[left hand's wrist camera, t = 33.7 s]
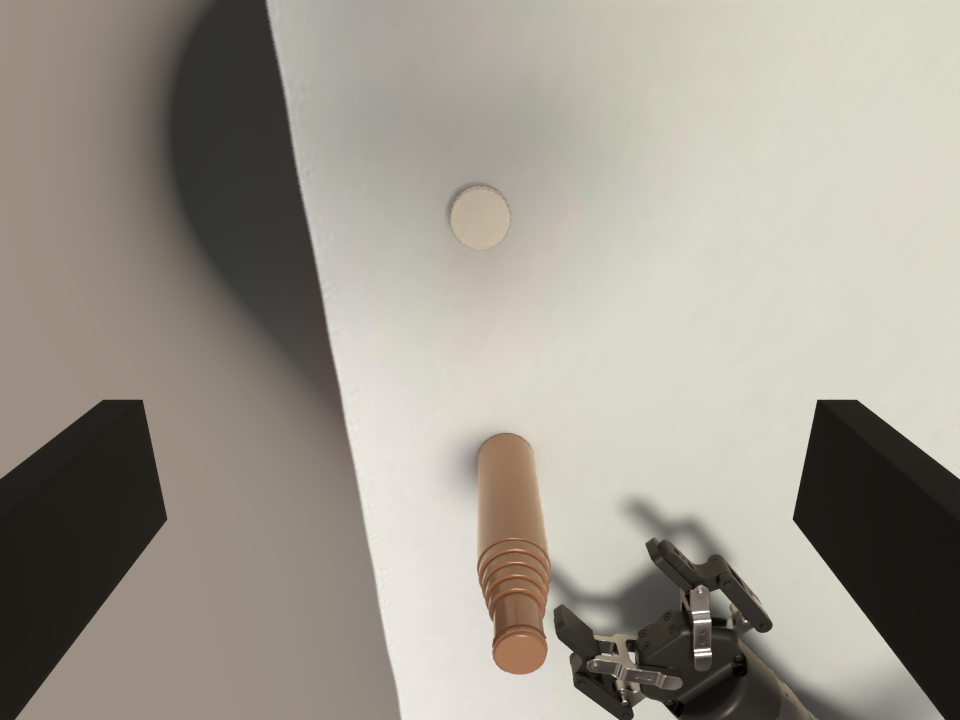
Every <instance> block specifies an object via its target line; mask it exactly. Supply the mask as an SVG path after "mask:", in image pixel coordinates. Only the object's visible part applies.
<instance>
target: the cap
mask: <svg viewBox="0 0 960 720" xmlns="http://www.w3.org/2000/svg"><path fill="white" fill-rule="evenodd" d="M510 215H511V213H510V210H509V206H508V204H507V203H506V199H504V198H503V197H502V194H500V193H499V192H497V190H494V189H492V187H486V185H484V186H479V185H478V186H474V187H473V186H472V187H471V188H468V189H467V188H466V190H465V191H463V192H461V194H460V195H459V196H457V198H456V200H455V201H454V202H453V207H452V208H451V214H450V225H451V228H452V231H453V233H454V235H455V237H456V238H457V239H458V240H459V241H460V242H461V243H462V244H463V245H465V246H467V247H468V248H471V249H475V250H485V249H489V248H492V247H494V246H496V245H497V244H499V243H500V242H501V241H502V240H503V239H504V237H505V236H506V234H507V233H508V230H509V228H510V221H511V219H510Z"/></svg>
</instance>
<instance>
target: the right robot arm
mask: <svg viewBox="0 0 960 720" xmlns="http://www.w3.org/2000/svg"><path fill="white" fill-rule="evenodd" d="M646 547H647V550H648V552H649V555H650V557H651V559H652V561H653V562H654V563H655V564H656V565H657V566H658V567H659V568H660V569H661V570H662V571H663V572H664V573H665V574H666V575H667V576H668V577H669V578H670V579H671V580H672V581H673V582H674V583H675V584H676V585H677V586H679V587H680V588H681V589H680V611H675V612H672V611H671V610H669V611H668V612H667V613H665V614H664V615H662V616H661V617H660V618H659V620H658V621H657V622H656V623H654V624H652V625H649V626H647V627H645V628H643V629H642V630H640V631H639V632H638V636H637V635H629V634H621V633H616V634H615V635H614V636H613V637H607V636H599V635H593V631H592V629H590V628H589V627H588V626H587V625H586V624H585V623H584V622H582V621H581V620H580V619H579V618H578V617H577V616H576V615H574V614H573V613H572V612H571V611H570V610H569V609H568V608H567V607H565V606H564V605H563V604H561V605H560V606H558V607H557V608H556V609H554V617H555V619H554V623H555V630H556V635H557V637H558V639H559V640H560V641H562V642H563V643H564V644H565V645H566V646H568V647H569V648H570V649H571V650H572V651H573V652H574V653H572V654H571V655H570V664H571V667H572V673H573V683H574V686H575V687H576V688H577V689H578V690H580V691H581V692H582V693H584V694H585V695H586V696H588V697H589V698H590V699H592V700H593V701H594V702H596V703H597V704H599V705H600V706H601V707H603V708H604V709H605V710H607V711H608V712H609V713H611V714H612V715H614V716H615V717H616V718H618V719H619V720H632V719H633V717H634V714H633V710H632V707H633V706H635V705H636V704H638V703H639V702H640V701H642V700H643V699H644V698H646V697H647V698H650V699H653V700H657V701H660V702H662V703H663V704H664V705H665V706H666V707H667V708H668V710H669V711H670V712H671V713H672V714H673V715H674V716H675V717H676V718H677V719H678V720H818V719H817V718H816V717H815V716H814V715H813V714H812V713H810V712H809V711H808V710H807V709H806V708H805V707H804V706H803V705H802V704H801V702H800V701H799V700H798V698H797V697H796V696H795V694H794V693H793V692H792V690H791V689H790V688H789V687H788V686H787V685H786V684H785V683H784V682H783V680H782V678H781V677H780V676H779V675H778V674H777V673H776V672H775V671H773V670H771V669H770V668H769V667H768V666H767V665H765V664H764V663H763V662H762V661H761V660H760V659H759V658H758V657H757V656H756V655H755V654H754V653H753V652H752V651H751V650H750V649H749V648H748V647H747V646H746V645H745V644H744V643H743V642H742V641H741V640H740V639H739V638H738V637H739V636H740V635H742V634H744V633H745V632H747V631H749V630H750V629H752V628H755V629H756V630H757V631H758V632H760V633H765V632H768V631H769V630H771V628H772V626H773V624H772V622H771V620H770V618H769V617H768V615H767V613H766V611H765V610H764V608H763V606H762V604H761V603H760V601H759V599H758V598H757V597H756V595H755V594H754V593H753V592H752V591H751V590H750V588H749V587H748V586H747V585H746V584H745V583H744V581H743V580H742V579H741V578H740V577H739V576H738V574H737V573H736V572H735V571H734V570H733V569H732V567H731V566H730V565H729V564H728V563H727V562H726V560H725V559H724V558H723V557H722V556H720V555H713V556H711V557H710V558H709V559H708V561H707V563H705V564H702V565H695V564H693V563H691V562H690V561H689V560H688V559H687V558H686V557H685V556H684V555H683V554H682V553H681V552H680V551H679V550H678V549H677V548H676V547H675V546H674V545H673V544H672V543H671V542H668V541H666V540H663V541H662V542H660V543H659V542H658V541H657V540H656V539H655V538H652V539H651V540H650V541H648V542H647V543H646ZM717 589H721V591H722V592H723V593H724V594H725V595H726V596H727V597H728V598H729V600H730V601H731V602H732V603H731V604H730V611H731V613H732V615H731V617H730V618H729V619H726V618H725V617H722V616H716V615H710V613H709V595H710V592H711V591H714V590H717ZM628 652H635V663H636V664H634V663H633V662H632V661H631V660H630V658H629V654H628ZM601 653H607V654H611V655H612V656H613V657H610V656H602V654H601ZM611 674H613V675H616V677H614V676H612V675H611Z"/></svg>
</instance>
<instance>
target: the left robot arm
mask: <svg viewBox="0 0 960 720" xmlns="http://www.w3.org/2000/svg"><path fill="white" fill-rule="evenodd" d="M166 520H167V515H166V511H165V506H164V501H163V496H162V491H161V486H160V482H159V477H158V472H157V467H156V462H155V458H154V453H153V448H152V443H151V438H150V433H149V429H148V424H147V419H146V414H145V409H144V404H143V400H102V401H101V402H100V403H98V404H97V405H96V406H95V407H93V408H92V409H91V410H89V411H88V412H87V413H85V414H84V415H83V416H82V417H80V418H79V419H78V420H76V421H75V422H74V423H73V424H71V425H70V426H69V427H67V428H66V429H65V430H64V431H62V432H61V433H60V434H58V435H57V436H56V437H54V438H53V439H52V440H51V441H49V442H48V443H47V444H45V445H44V446H43V447H41V448H40V449H39V450H38V451H36V452H35V453H34V454H32V455H31V456H30V457H29V458H27V459H26V460H25V461H23V462H22V463H21V464H19V465H18V466H17V467H16V468H14V469H13V470H12V471H10V472H9V473H8V474H7V475H5V476H4V477H3V478H1V479H0V720H15V719H16V717H17V716H18V715H19V713H20V712H21V711H22V710H23V708H24V707H25V706H26V704H27V703H28V702H29V700H30V699H31V698H32V696H33V695H34V694H35V692H36V691H37V690H38V689H39V687H40V686H41V685H42V683H43V682H44V681H45V679H46V678H47V677H48V675H49V674H50V673H51V671H52V670H53V669H54V667H55V666H56V665H57V664H58V662H59V661H60V660H61V658H62V657H63V656H64V654H65V653H66V652H67V650H68V649H69V648H70V647H71V645H72V644H73V643H74V641H75V640H76V639H77V637H78V636H79V635H80V633H81V632H82V631H83V629H84V628H85V627H86V625H87V624H88V623H89V622H90V620H91V619H92V618H93V616H94V615H95V614H96V612H97V611H98V610H99V608H100V607H101V606H102V604H103V603H104V602H105V601H106V599H107V598H108V597H109V595H110V594H111V593H112V591H113V590H114V589H115V587H116V586H117V585H118V583H119V582H120V581H121V580H122V578H123V577H124V576H125V574H126V573H127V572H128V570H129V569H130V568H131V566H132V565H133V564H134V562H135V561H136V560H137V558H138V557H139V556H140V555H141V553H142V552H143V551H144V549H145V548H146V547H147V545H148V544H149V543H150V541H151V540H152V539H153V537H154V536H155V535H156V534H157V532H158V531H159V530H160V528H161V527H162V526H163V524H164V523H165V522H166ZM793 520H794V522H795V523H796V524H797V526H798V527H799V528H800V530H801V531H802V532H803V534H804V535H805V536H806V537H807V539H808V540H809V541H810V543H811V544H812V545H813V547H814V548H815V549H816V551H817V552H818V553H819V555H820V556H821V557H822V559H823V560H824V561H825V562H826V564H827V565H828V566H829V568H830V569H831V570H832V572H833V573H834V574H835V576H836V577H837V578H838V580H839V581H840V582H841V583H842V585H843V586H844V587H845V589H846V590H847V591H848V593H849V594H850V595H851V597H852V598H853V599H854V601H855V602H856V603H857V604H858V606H859V607H860V608H861V610H862V611H863V612H864V614H865V615H866V616H867V618H868V619H869V620H870V622H871V623H872V624H873V626H874V627H875V628H876V629H877V631H878V632H879V633H880V635H881V636H882V637H883V639H884V640H885V641H886V643H887V644H888V645H889V647H890V648H891V649H892V650H893V652H894V653H895V654H896V656H897V657H898V658H899V660H900V661H901V662H902V664H903V665H904V666H905V668H906V669H907V670H908V671H909V673H910V674H911V675H912V677H913V678H914V679H915V681H916V682H917V683H918V685H919V686H920V687H921V689H922V690H923V691H924V692H925V694H926V695H927V696H928V698H929V699H930V700H931V702H932V703H933V704H934V706H935V707H936V708H937V710H938V711H939V712H940V714H941V715H942V716H943V717H944V719H945V720H960V479H959V478H957V477H956V476H955V475H953V474H952V473H951V472H950V471H948V470H947V469H946V468H944V467H943V466H942V465H941V464H939V463H938V462H937V461H935V460H934V459H933V458H931V457H930V456H929V455H928V454H926V453H925V452H924V451H922V450H921V449H920V448H919V447H917V446H916V445H915V444H913V443H912V442H911V441H909V440H908V439H907V438H906V437H904V436H903V435H902V434H900V433H899V432H898V431H897V430H895V429H894V428H893V427H891V426H890V425H889V424H887V423H886V422H885V421H884V420H882V419H881V418H880V417H878V416H877V415H876V414H875V413H873V412H872V411H871V410H869V409H868V408H867V407H865V406H864V405H863V404H862V403H860V402H859V401H858V400H817V404H816V409H815V414H814V419H813V424H812V429H811V433H810V438H809V443H808V448H807V453H806V457H805V462H804V467H803V472H802V477H801V482H800V486H799V491H798V496H797V501H796V506H795V511H794V515H793Z"/></svg>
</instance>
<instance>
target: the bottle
mask: <svg viewBox="0 0 960 720" xmlns="http://www.w3.org/2000/svg"><path fill="white" fill-rule="evenodd" d="M550 569H551V564H550V557H549V551H548V544H547V538H546V531H545V525H544V519H543V512H542V506H541V499H540V493H539V486H538V480H537V473H536V467H535V460H534V454H533V450H532V448H531V446H530V445H529V444H528V442H527V441H525V440H524V439H523V438H521V437H519V436H517V435H513V434H499V435H496V436H493V437H491V438H490V439H488V440H487V441H486V442H485V443H484V444H483V445H482V447H481V448H480V451H479V454H478V519H477V572H478V576H479V583H480V586H481V589H482V593H483V596H484V598H485V602H486V606H487V608H488V610H489V616H490V618H491V620H492V621H493V624H494V639H493V643H492V648H493V650H492V654H493V659H494V661H495V663H496V665H497V666H498V667H499V668H500V669H501V670H503V671H505V672H509V673H512V674H519V675H521V674H528V673H531V672H534V671H535V670H537V669H538V668H540V667H541V666H542V664H543V663H544V661H545V658H546V655H547V650H548V649H547V643H546V640H545V639H546V636H545V634H544V629H543V621H542V619H543V617H544V615H545V606H546V603H547V595H548V591H549V583H550V578H551V575H550Z"/></svg>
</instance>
